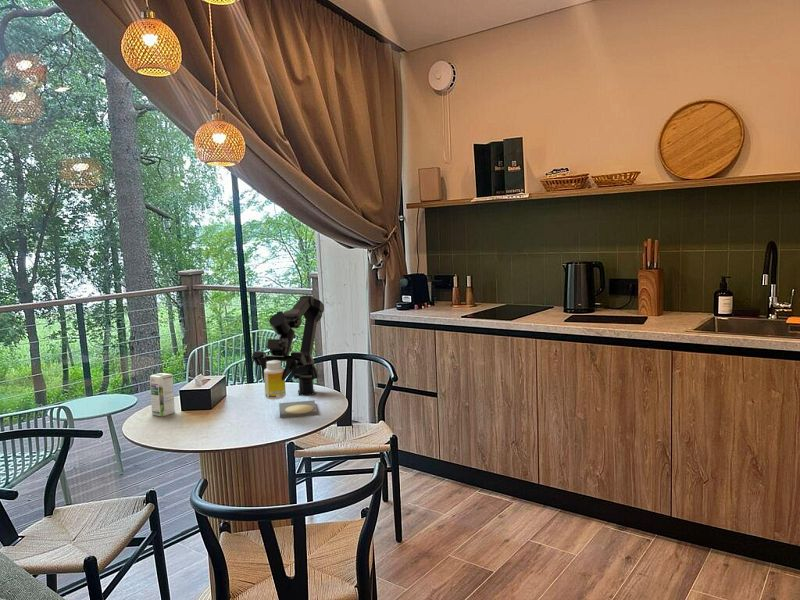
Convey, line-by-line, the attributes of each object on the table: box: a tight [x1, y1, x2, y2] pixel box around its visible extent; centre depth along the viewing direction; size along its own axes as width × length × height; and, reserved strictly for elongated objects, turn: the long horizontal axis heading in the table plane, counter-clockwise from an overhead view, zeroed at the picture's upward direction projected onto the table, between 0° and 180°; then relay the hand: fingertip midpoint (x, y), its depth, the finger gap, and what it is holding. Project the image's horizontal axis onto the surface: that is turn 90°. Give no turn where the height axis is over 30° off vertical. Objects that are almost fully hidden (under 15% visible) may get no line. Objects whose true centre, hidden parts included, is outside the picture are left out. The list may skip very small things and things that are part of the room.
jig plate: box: [278, 400, 318, 418], centre depth 210 cm, size 16×13×2 cm
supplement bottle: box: [263, 360, 286, 401], centre depth 204 cm, size 7×7×13 cm
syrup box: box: [149, 372, 176, 417], centre depth 210 cm, size 6×6×14 cm
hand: (273, 379), depth 203 cm, fingers closed on supplement bottle, 7 cm apart
